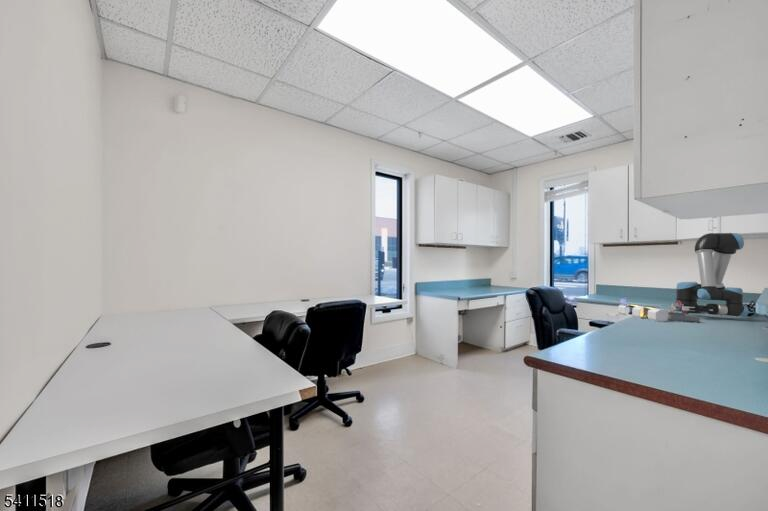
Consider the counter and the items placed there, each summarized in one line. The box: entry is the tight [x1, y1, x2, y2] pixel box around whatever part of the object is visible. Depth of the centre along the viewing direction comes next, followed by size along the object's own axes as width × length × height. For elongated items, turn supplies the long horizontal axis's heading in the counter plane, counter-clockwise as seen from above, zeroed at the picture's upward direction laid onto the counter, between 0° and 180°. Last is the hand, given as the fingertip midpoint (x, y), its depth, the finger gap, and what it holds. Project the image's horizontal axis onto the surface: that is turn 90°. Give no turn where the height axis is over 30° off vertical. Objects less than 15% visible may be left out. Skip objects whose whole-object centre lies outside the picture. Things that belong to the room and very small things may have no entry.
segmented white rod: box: [617, 296, 669, 322], centre depth 210 cm, size 25×10×13 cm, turn 13°
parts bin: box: [667, 312, 700, 324], centre depth 205 cm, size 15×16×4 cm
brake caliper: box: [665, 301, 690, 315], centre depth 220 cm, size 11×11×12 cm
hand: (677, 306), depth 220 cm, fingers open, 13 cm apart
